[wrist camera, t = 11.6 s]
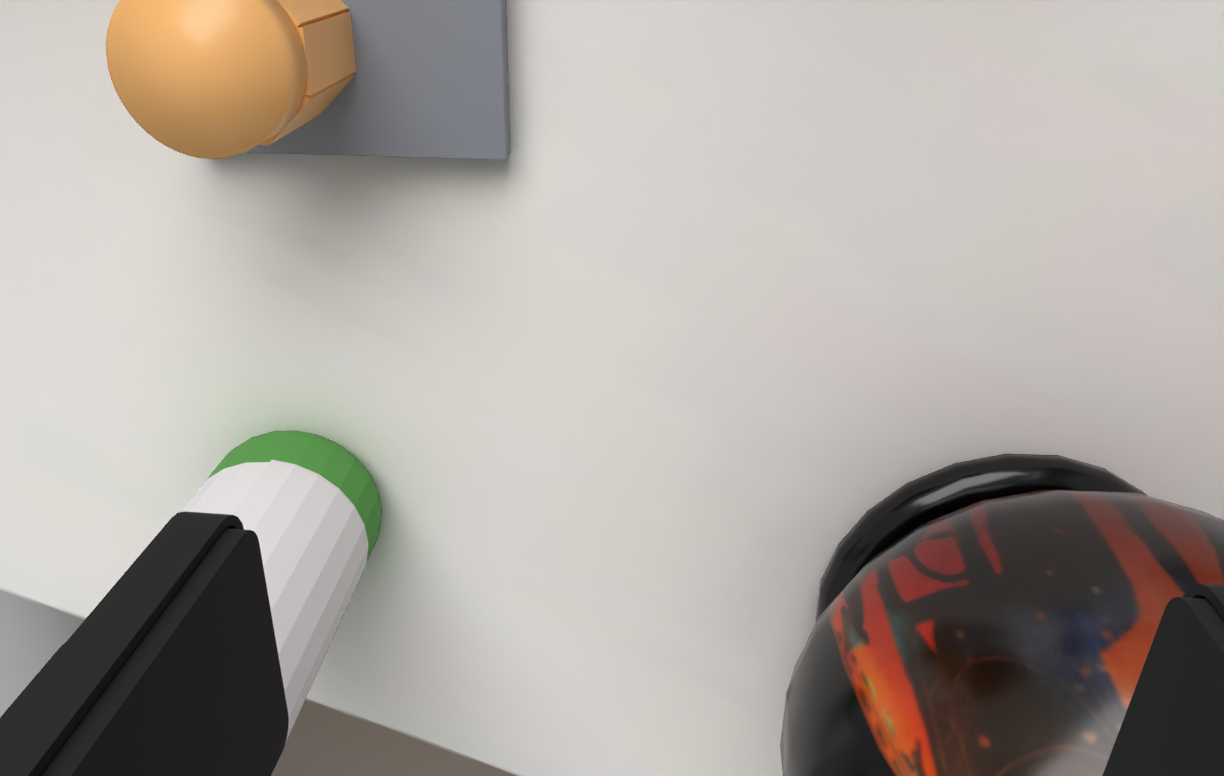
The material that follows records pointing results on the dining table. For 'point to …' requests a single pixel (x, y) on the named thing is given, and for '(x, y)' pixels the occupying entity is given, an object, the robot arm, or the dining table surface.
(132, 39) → the orange dome-topped faceted piece
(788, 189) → the dining table surface
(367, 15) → the board
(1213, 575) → the black vase
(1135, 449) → the dining table surface
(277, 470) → the wine bottle
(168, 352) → the dining table surface
